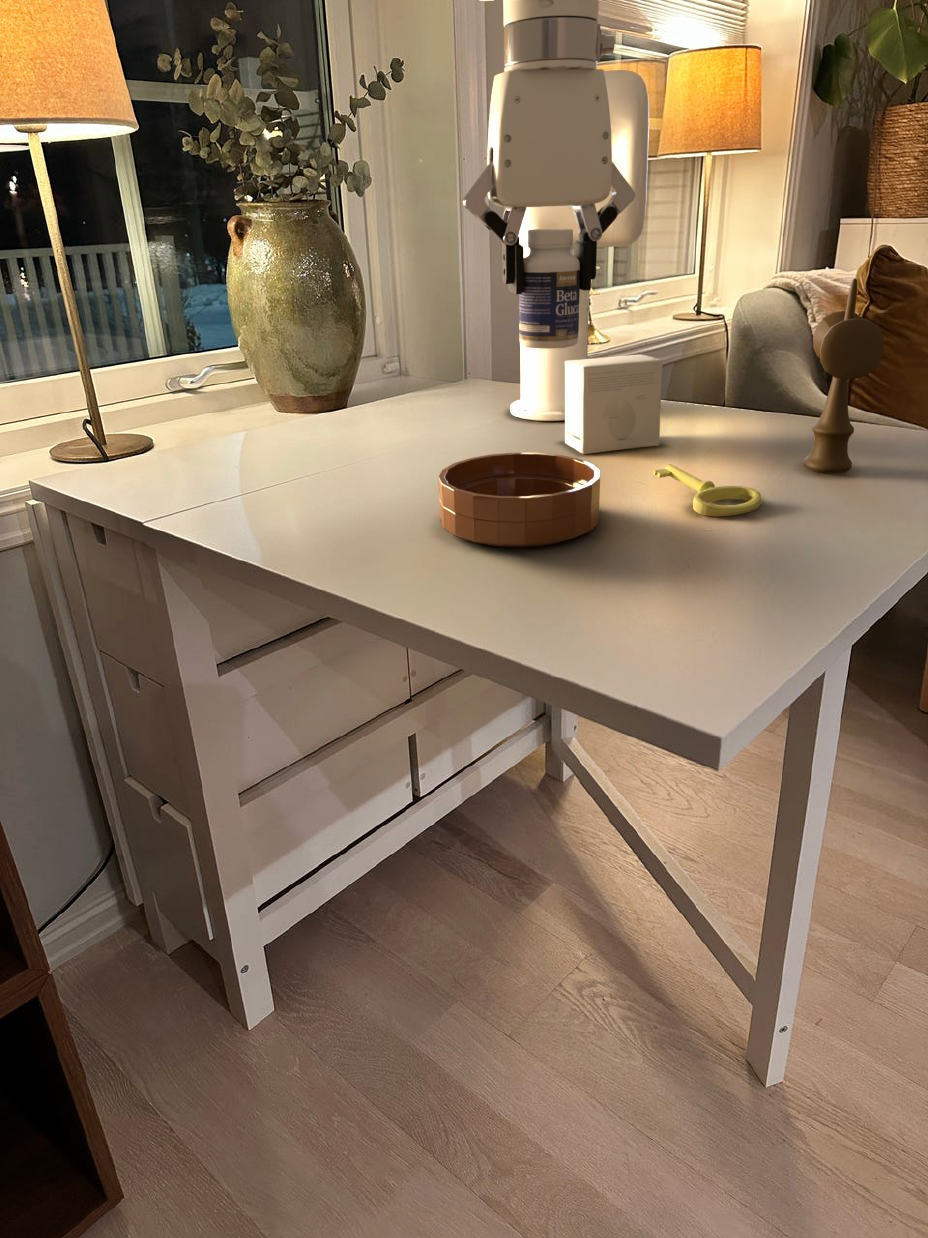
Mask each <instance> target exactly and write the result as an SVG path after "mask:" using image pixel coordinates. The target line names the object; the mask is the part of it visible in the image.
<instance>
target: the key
mask: <svg viewBox="0 0 928 1238" xmlns="http://www.w3.org/2000/svg"><path fill="white" fill-rule="evenodd" d="M653 475H654V476H657V477H658V479H660V478H665V477H666V478H667V477H670V478H671V479H672V480H675V481H676V482H679V483H681V484H683V485H684V486H687V487H688V488H690V489H691V490H693V491H694V492H697V493H696V494H695V495H694V498H693V500H692V506H693V507H692V509H693V510H694V512H696V513H697V514H700V515H702V516H706V517H729V516H736V515H741V514H746V513H750V512H754V511H755V510H757V509H758V508H759V507H760V505H761V504H762V494H761V493H760V491H758V490H757V489H754V488H752V487H748V486H744V485H743V486H742V485H721V486H715V483H714V482H713V481H711V480H705V481H703V480H702V479H699V478H698V477H696V476H694V475H692V474H690V473H688V472H687V471H684V470H683V469H681V468H679V467H678V466H675V465H674V464H673V463H669V464H666V465H665V467H664V468H662V469H654V470H653ZM731 499H732V500H743V501H745V502H742V503H738V504H733V505H722V504H721V505H720V504H713V503H711V502H715V501H721V500H731Z"/></svg>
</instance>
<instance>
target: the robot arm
mask: <svg viewBox="0 0 928 1238" xmlns="http://www.w3.org/2000/svg"><path fill="white" fill-rule="evenodd" d="M481 1H483V2H488V1H489V2H491V1H493V0H480V2H481ZM502 1H503V2H502V4H503V6H502V7H503V8H502V9H503V67H504V68H503V72H500V73H498V74H495V75H494V77H493V81H492V82H493V83H492V89H491V95H490V96H491V98H490V104H489V105H490V106H489V116H488V117H489V119H488V132H487V133H488V135H487V158H486V159H487V161H486V167H485V168H484V169H483V170H482V172H481V174H480V175H479V176H478V178H477V179H476V180H475V182H474V183H473V185H472V186H471V188H470V189H469V190H468V192H466V195H465V196H464V197H463V199H462V205H463V207H464V208H465V209H466V210H467V211H469V212H470V213H471V215H473V216H474V217H475V218H476V219H478V221H480V222H481V223H482V225H483V226H484V227H485V228H486V229H487V230H488V231H489V232H490V233H491V234H492V235H493V236H494V237H495V238H496V239H497V241H498V243H500V244H501V270H502V271H501V272H502V283H503V284H504V285H507V289H508V292H509V293H511V294H514V295H519V294H522V292H524V258H525V257H527V256H528V255H529V254H530V248H528V247H527V246H528V244H527V231H528V230H532V229H573V243H572V245H573V246H572V247H570V251H572V250H573V255H574V256H575V257H577V258H578V260H579V262H580V294H579V331H578V342H577V344H575V345H574V346H571V347H566V348H552V349H539V348H527V347H524V346H522V345H521V344H520V343H519V347H520V350H519V351H520V352H519V353H520V356H519V357H520V360H519V361H520V362H519V363H520V399H517V400H515V401H513V402H511V404H510V405H509V410H510V414H511V415H512V416H514V417H516V418H519V419H523V420H529V421H537V422H539V421H540V422H562V421H563V422H565V361H571V360H583V359H588V354H589V353H588V348H589V347H588V345H589V308H590V307H589V306H590V291H591V289H592V280H595V279H596V277H597V259H598V258H597V257H598V256H597V255H598V248H614V247H617V248H618V247H627V246H631V245H632V244H634V243H636V242H637V241H638V240H639V239H640V238H641V236H642V234H643V231H644V226H645V223H646V222H645V221H646V213H647V212H646V211H647V198H648V197H647V194H648V193H647V191H648V166H649V137H650V99H649V92H648V88H647V85H646V81H645V80H644V79H643V77H642V76H641V75H640V73H637V72H635V71H632V70H627V69H615V70H614V69H611V70H605V69H603V68H598V63H599V62H600V60H601V58H603V57H604V56H605V55H607V56H609V55H613V54H614V51H615V44H616V43H615V41H616V40H615V36H614V35H612V34H607V35H606V34H605V33H602V30H601V23H599V3H600V0H502ZM486 197H488V200H489V201H490V203H492V204H494V205H495V206H497V207H501V208H504V210H503V214H502V217H501V216H500V214H498V212H495V211H494V210H493V209H492V208H491V207H490V206H489V205H488V203H486Z"/></svg>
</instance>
